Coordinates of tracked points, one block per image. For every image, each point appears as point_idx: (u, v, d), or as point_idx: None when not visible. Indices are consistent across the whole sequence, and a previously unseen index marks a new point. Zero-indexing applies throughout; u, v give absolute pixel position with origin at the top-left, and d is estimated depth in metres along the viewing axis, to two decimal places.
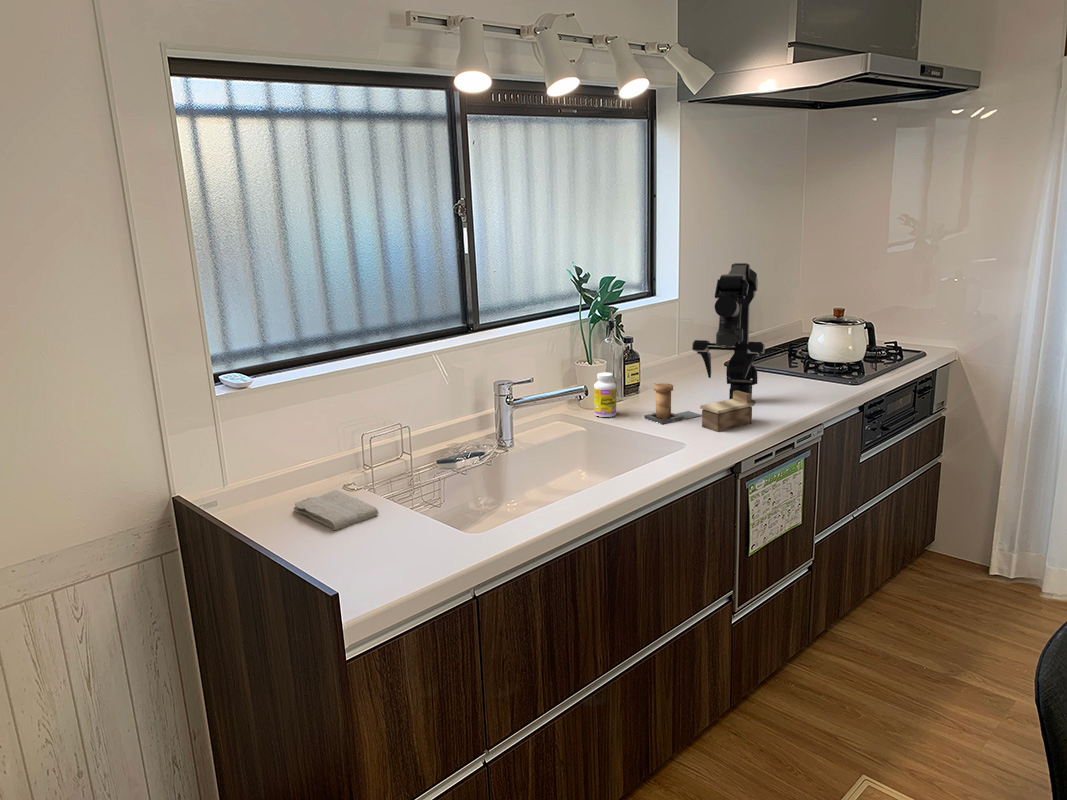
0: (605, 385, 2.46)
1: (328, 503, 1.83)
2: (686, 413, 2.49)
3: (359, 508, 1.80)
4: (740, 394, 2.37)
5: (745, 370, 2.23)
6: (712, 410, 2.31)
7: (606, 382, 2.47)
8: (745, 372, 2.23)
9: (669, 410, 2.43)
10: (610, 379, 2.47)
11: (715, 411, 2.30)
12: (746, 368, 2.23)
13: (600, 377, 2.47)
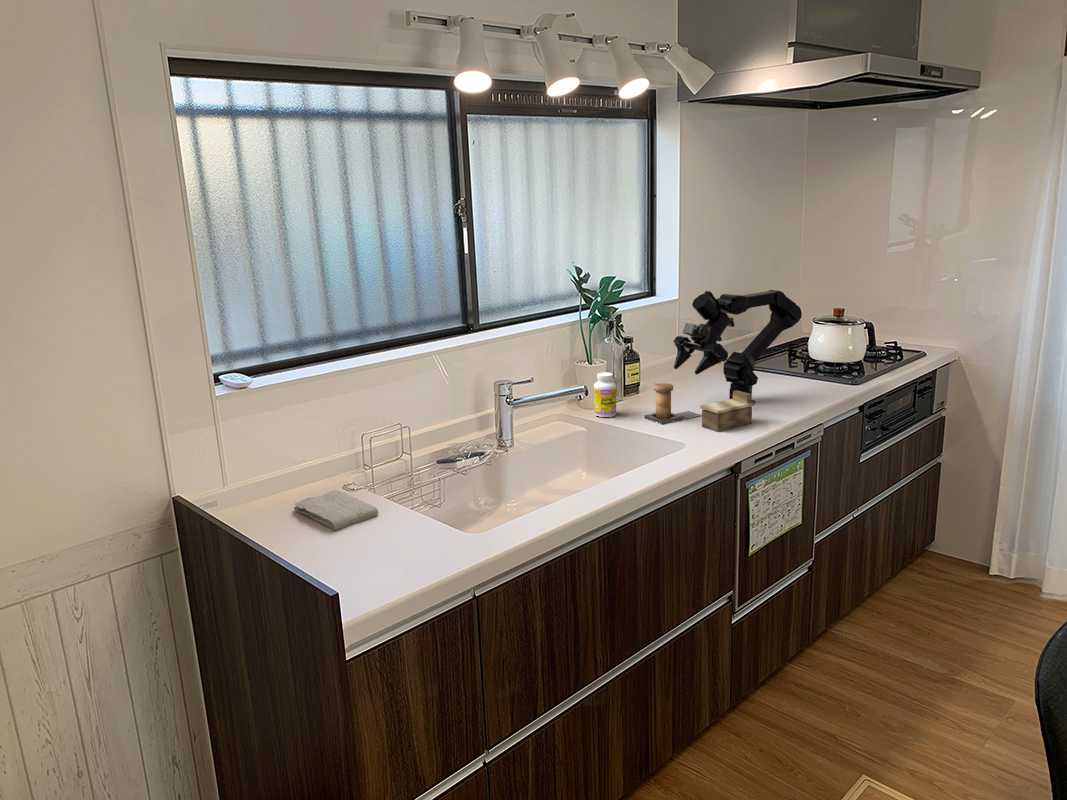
0: (605, 385, 2.46)
1: (328, 503, 1.83)
2: (686, 413, 2.49)
3: (359, 508, 1.80)
4: (740, 394, 2.37)
5: (699, 365, 2.41)
6: (712, 410, 2.31)
7: (606, 382, 2.47)
8: (698, 366, 2.41)
9: (669, 410, 2.43)
10: (610, 379, 2.47)
11: (715, 411, 2.30)
12: (700, 363, 2.41)
13: (600, 377, 2.47)
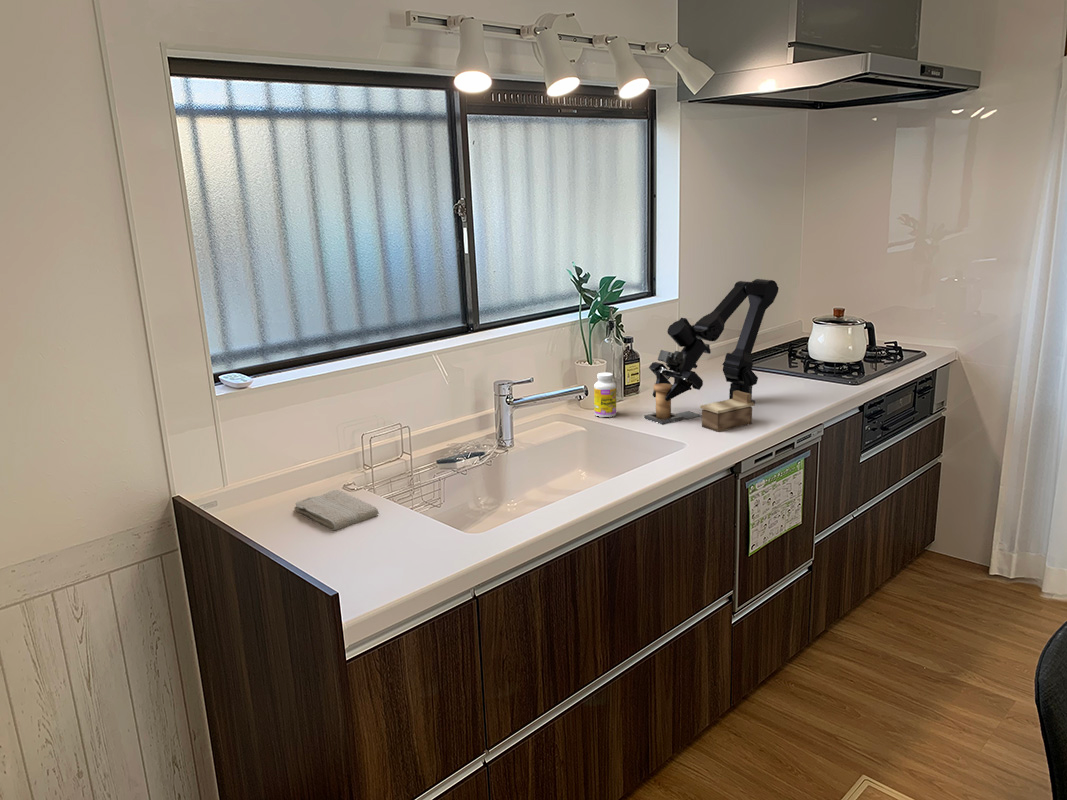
0: (605, 385, 2.46)
1: (328, 503, 1.83)
2: (686, 413, 2.49)
3: (359, 508, 1.80)
4: (740, 394, 2.37)
5: (669, 391, 2.40)
6: (712, 410, 2.31)
7: (606, 382, 2.47)
8: (668, 393, 2.40)
9: (669, 410, 2.43)
10: (610, 379, 2.47)
11: (715, 411, 2.30)
12: (670, 390, 2.40)
13: (600, 377, 2.47)
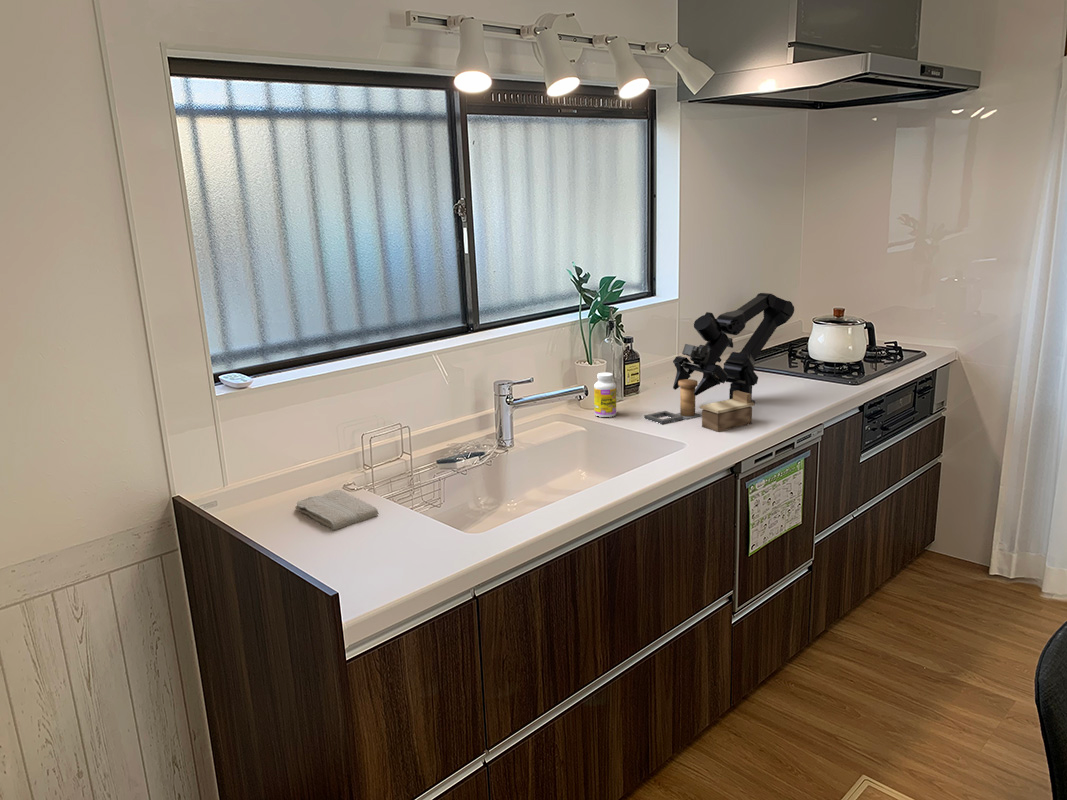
0: (605, 385, 2.46)
1: (329, 502, 1.84)
2: None
3: (359, 508, 1.80)
4: (740, 394, 2.37)
5: (698, 386, 2.41)
6: (712, 410, 2.31)
7: (606, 382, 2.47)
8: (697, 388, 2.41)
9: (693, 406, 2.46)
10: (610, 379, 2.47)
11: (715, 411, 2.30)
12: (699, 385, 2.41)
13: (600, 377, 2.47)
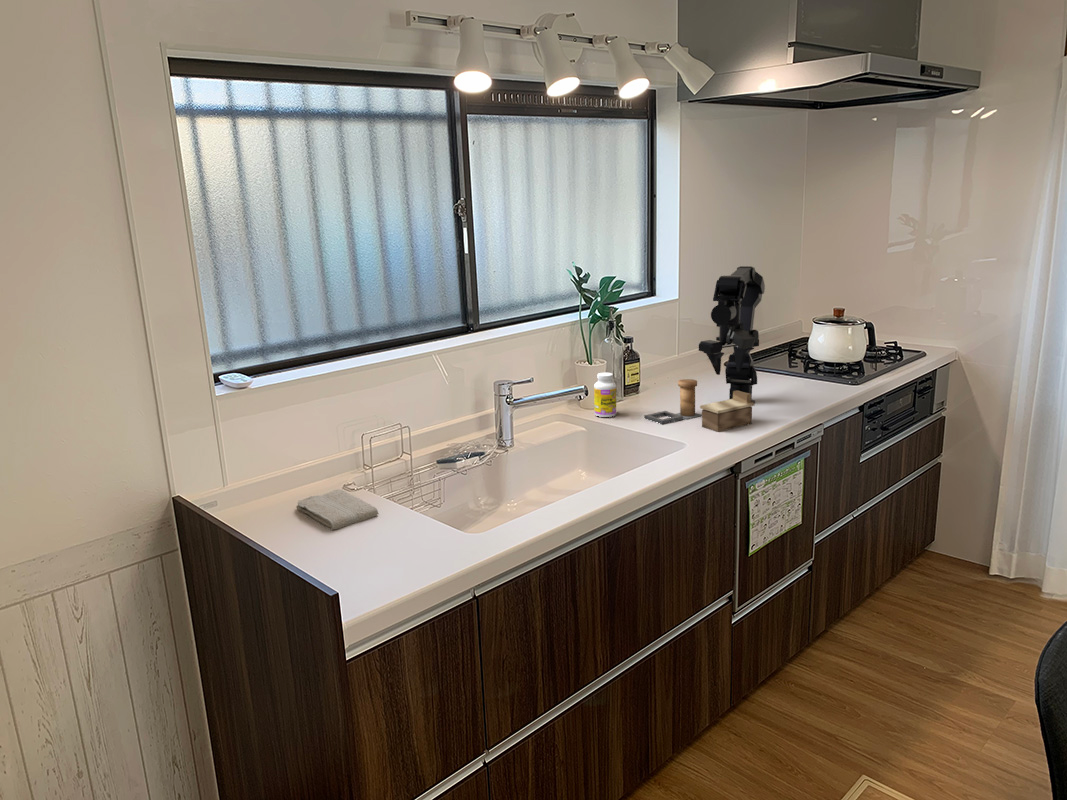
0: (605, 385, 2.46)
1: (329, 502, 1.84)
2: None
3: (359, 508, 1.80)
4: (740, 394, 2.37)
5: (742, 363, 2.43)
6: (712, 410, 2.31)
7: (606, 382, 2.47)
8: (741, 365, 2.44)
9: (693, 405, 2.46)
10: (610, 379, 2.47)
11: (715, 411, 2.30)
12: (742, 361, 2.43)
13: (600, 377, 2.47)
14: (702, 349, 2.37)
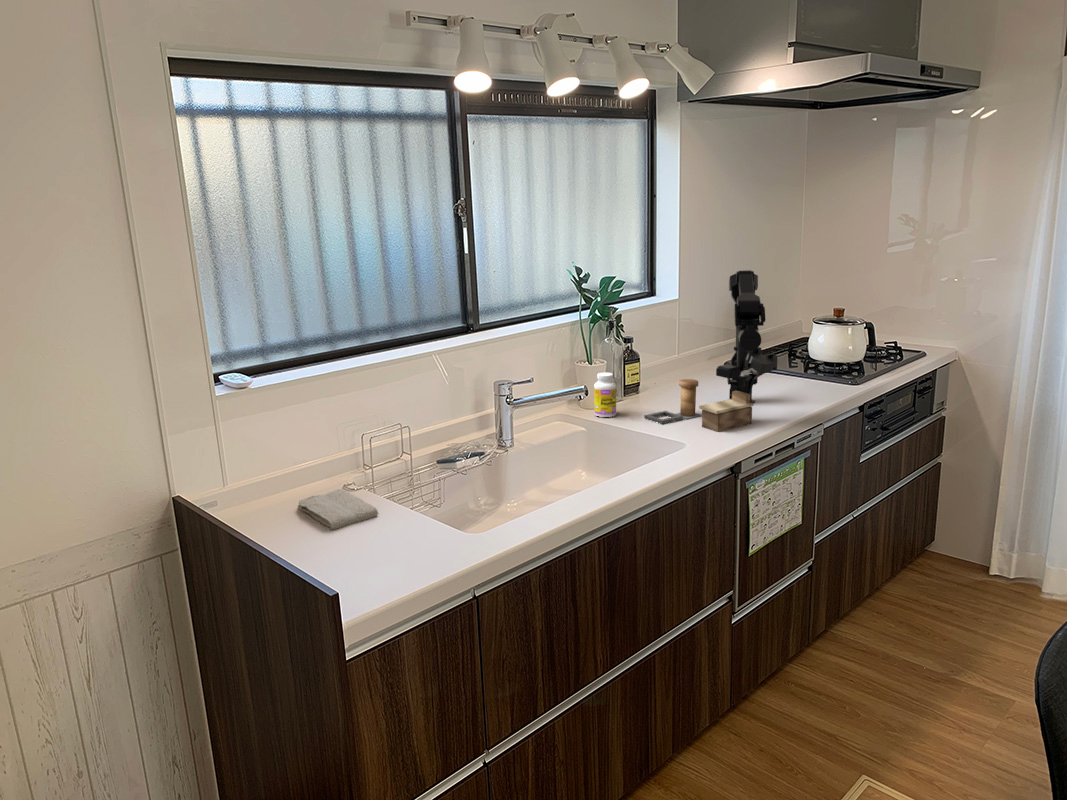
0: (605, 385, 2.46)
1: (330, 502, 1.84)
2: None
3: (358, 508, 1.80)
4: (739, 394, 2.37)
5: (750, 389, 2.37)
6: (711, 410, 2.30)
7: (606, 382, 2.47)
8: (749, 391, 2.37)
9: (694, 405, 2.46)
10: (610, 379, 2.47)
11: (714, 411, 2.29)
12: (751, 387, 2.37)
13: (600, 377, 2.47)
14: (720, 374, 2.32)
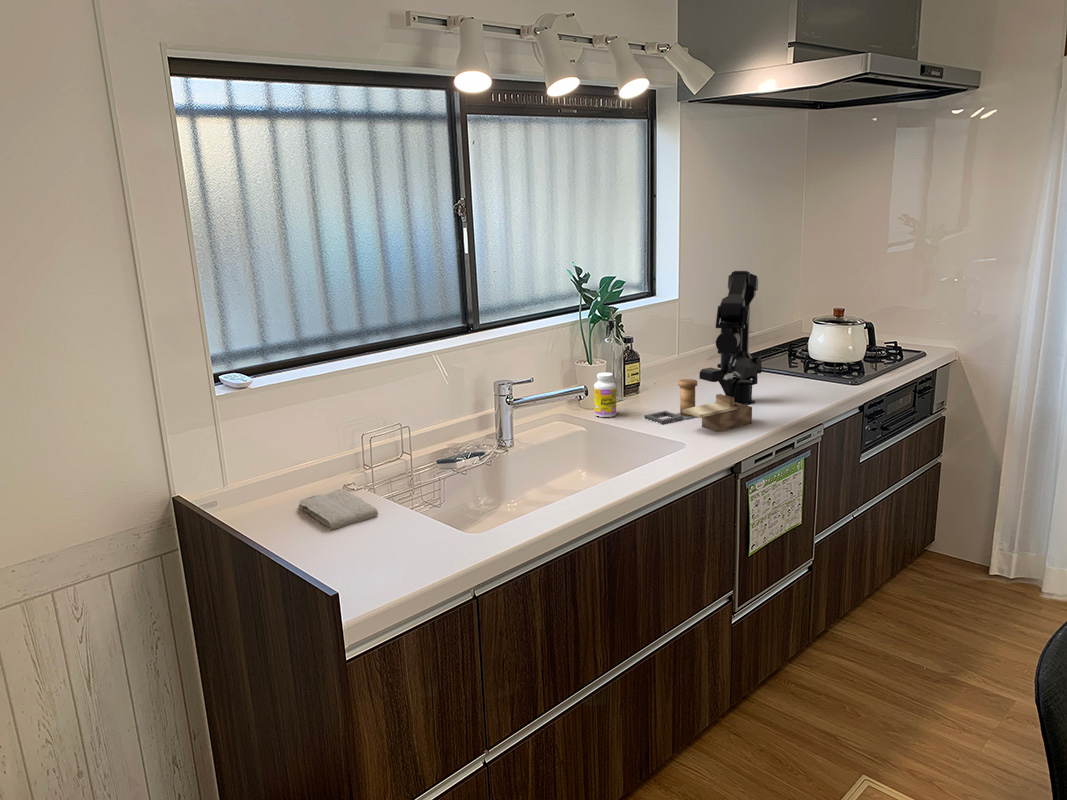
0: (605, 385, 2.46)
1: (331, 502, 1.84)
2: None
3: (358, 508, 1.80)
4: (723, 398, 2.34)
5: (734, 392, 2.34)
6: (694, 414, 2.27)
7: (606, 382, 2.47)
8: (734, 394, 2.34)
9: (694, 405, 2.46)
10: (610, 379, 2.47)
11: (697, 415, 2.26)
12: (735, 390, 2.34)
13: (600, 377, 2.47)
14: (703, 377, 2.30)
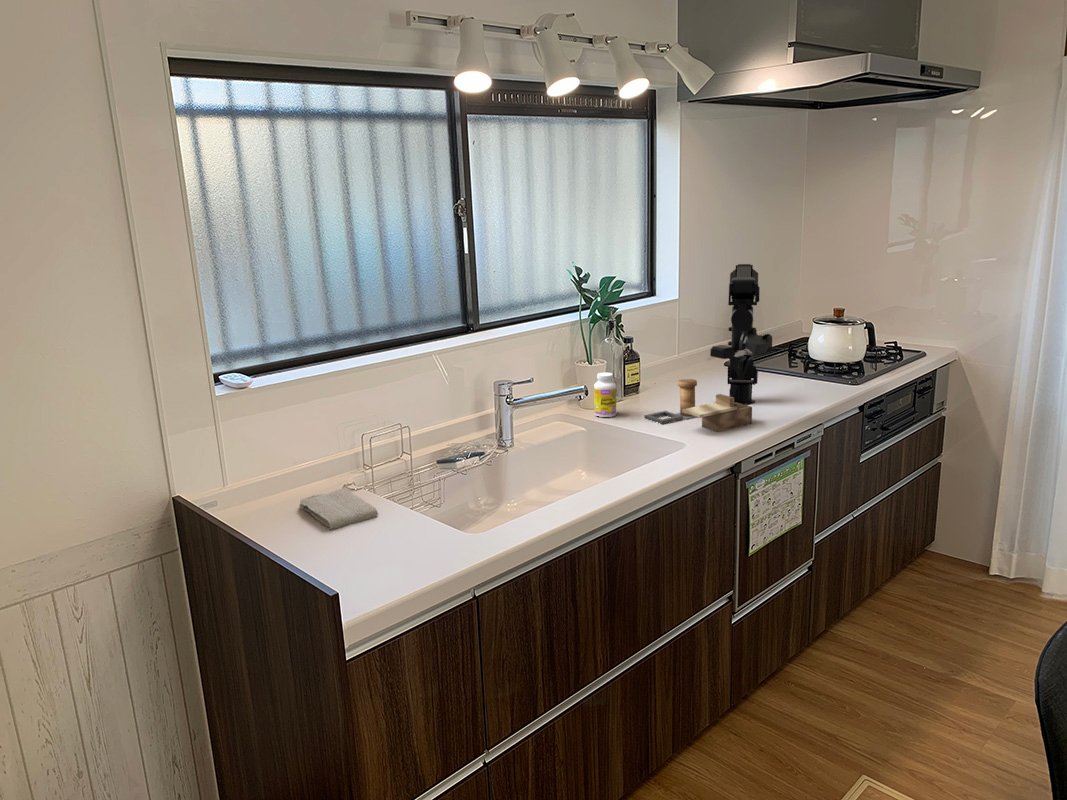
0: (605, 385, 2.46)
1: (331, 501, 1.84)
2: None
3: (358, 508, 1.80)
4: (723, 398, 2.34)
5: (745, 370, 2.35)
6: (694, 414, 2.27)
7: (606, 382, 2.47)
8: (744, 372, 2.35)
9: (694, 405, 2.46)
10: (610, 379, 2.47)
11: (697, 415, 2.26)
12: (745, 368, 2.35)
13: (600, 377, 2.47)
14: (714, 354, 2.30)
